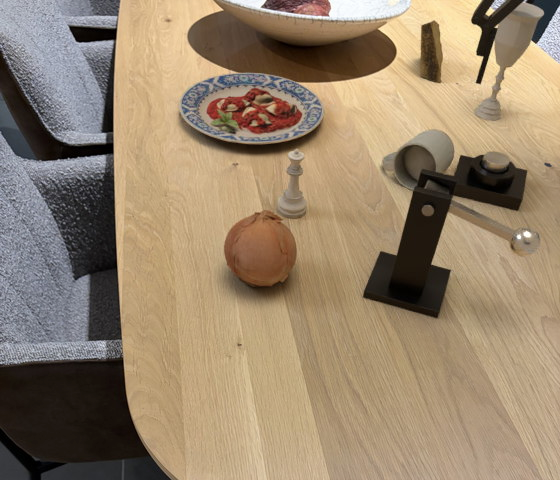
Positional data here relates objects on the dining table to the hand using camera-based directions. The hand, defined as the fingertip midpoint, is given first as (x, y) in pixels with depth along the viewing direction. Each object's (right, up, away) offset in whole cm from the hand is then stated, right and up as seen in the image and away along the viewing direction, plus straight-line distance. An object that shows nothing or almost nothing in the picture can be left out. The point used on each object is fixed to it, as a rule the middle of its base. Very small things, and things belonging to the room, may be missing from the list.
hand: (522, 88), depth 85 cm
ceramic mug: (-13, -8, +14) cm, 20 cm away
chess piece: (-33, -16, +6) cm, 37 cm away
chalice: (+5, +9, +29) cm, 31 cm away
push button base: (-1, -10, +13) cm, 16 cm away
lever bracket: (-17, -29, -4) cm, 34 cm away
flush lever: (-12, -23, -14) cm, 29 cm away
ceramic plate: (-40, +6, +24) cm, 46 cm away
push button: (-1, -8, +10) cm, 13 cm away
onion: (-37, -27, -4) cm, 47 cm away
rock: (-3, +23, +40) cm, 47 cm away
